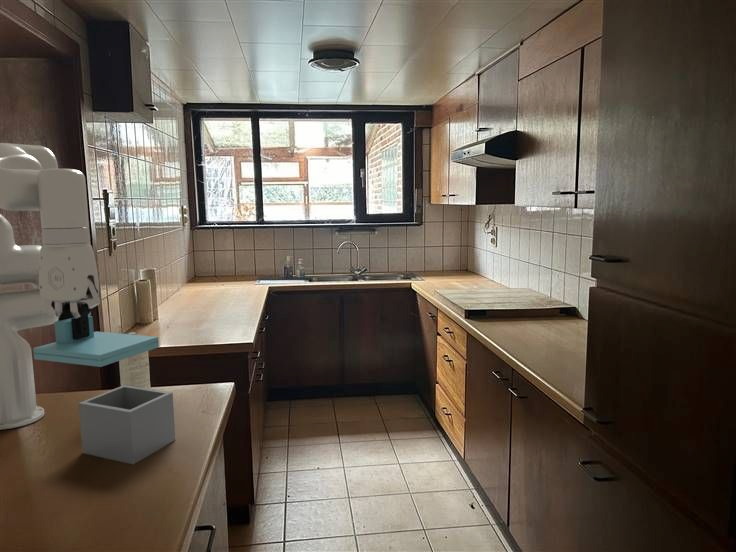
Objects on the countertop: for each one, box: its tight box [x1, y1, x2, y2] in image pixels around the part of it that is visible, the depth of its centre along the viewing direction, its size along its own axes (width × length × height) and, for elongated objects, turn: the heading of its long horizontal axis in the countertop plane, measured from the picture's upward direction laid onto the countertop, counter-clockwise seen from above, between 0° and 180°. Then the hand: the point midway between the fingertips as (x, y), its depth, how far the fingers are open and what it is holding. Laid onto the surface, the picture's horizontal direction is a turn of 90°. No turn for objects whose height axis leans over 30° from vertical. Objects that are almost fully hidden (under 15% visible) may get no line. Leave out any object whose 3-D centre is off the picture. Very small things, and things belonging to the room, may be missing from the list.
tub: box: [78, 385, 176, 465], centre depth 114 cm, size 14×12×11 cm
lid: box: [33, 315, 160, 368], centre depth 96 cm, size 15×13×6 cm
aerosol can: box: [118, 331, 151, 389], centre depth 134 cm, size 7×7×20 cm
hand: (75, 336), depth 98 cm, fingers closed on lid, 2 cm apart
